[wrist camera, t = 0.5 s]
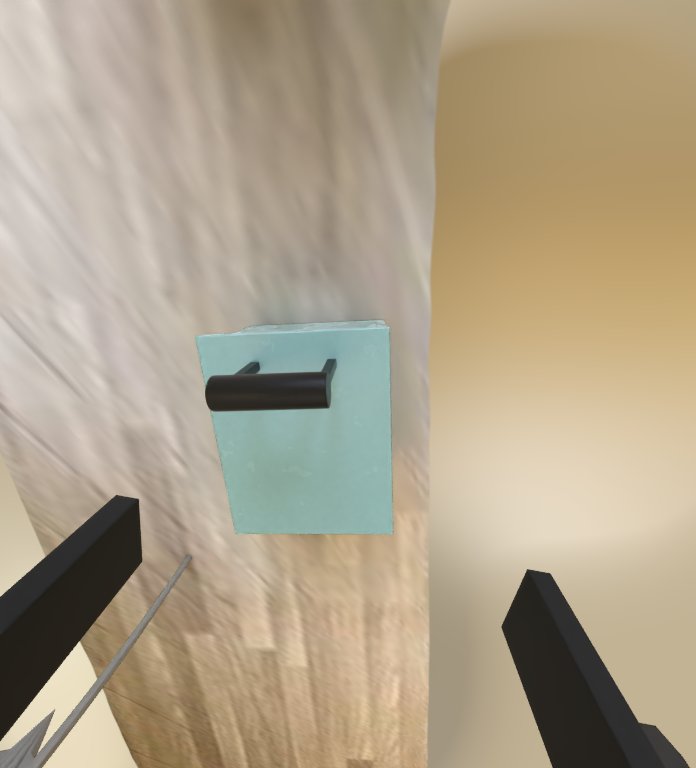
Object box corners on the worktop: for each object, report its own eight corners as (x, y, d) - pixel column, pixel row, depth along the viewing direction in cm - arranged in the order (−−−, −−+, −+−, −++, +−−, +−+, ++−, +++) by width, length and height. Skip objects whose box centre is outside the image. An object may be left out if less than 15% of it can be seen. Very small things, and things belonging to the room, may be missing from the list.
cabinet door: (199, 334, 26) (129, 360, 18) (388, 325, 25) (396, 349, 17) (238, 527, 32) (197, 607, 24) (392, 528, 31) (399, 611, 23)
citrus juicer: (115, 548, 49) (-241, 932, 20) (168, 527, 47) (-143, 919, 18) (160, 601, 52) (-95, 1001, 23) (212, 583, 50) (2, 996, 21)
